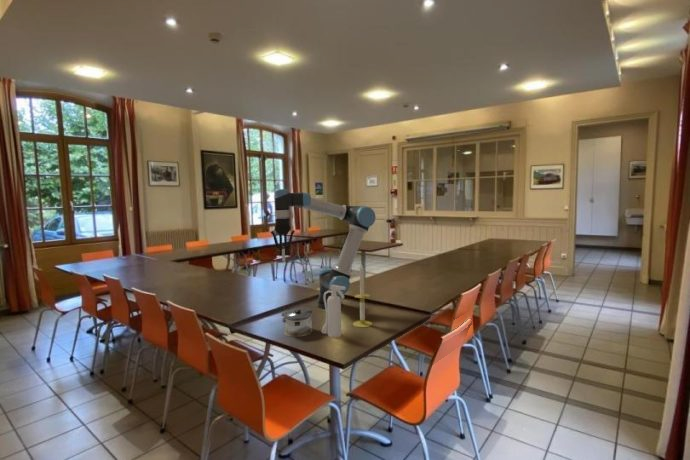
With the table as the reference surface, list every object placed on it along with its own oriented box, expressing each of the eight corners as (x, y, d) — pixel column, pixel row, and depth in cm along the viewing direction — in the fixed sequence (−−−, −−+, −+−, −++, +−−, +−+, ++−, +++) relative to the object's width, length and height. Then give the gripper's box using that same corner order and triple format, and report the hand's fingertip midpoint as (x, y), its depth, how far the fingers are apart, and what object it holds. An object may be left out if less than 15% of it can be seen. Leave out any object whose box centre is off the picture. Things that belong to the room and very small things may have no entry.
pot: (311, 323, 189) (311, 309, 188) (311, 337, 170) (311, 320, 170) (285, 325, 187) (284, 310, 187) (281, 338, 169) (281, 322, 169)
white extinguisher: (323, 331, 179) (323, 282, 176) (346, 334, 175) (347, 284, 172) (318, 336, 172) (318, 286, 169) (342, 340, 169) (342, 288, 166)
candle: (349, 323, 190) (348, 262, 187) (363, 319, 196) (363, 260, 193) (361, 329, 182) (360, 265, 179) (376, 324, 187) (375, 263, 185)
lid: (312, 309, 186) (312, 305, 186) (312, 318, 172) (312, 314, 172) (283, 311, 185) (283, 306, 184) (280, 320, 171) (280, 315, 170)
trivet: (312, 326, 186) (312, 325, 186) (312, 336, 173) (312, 335, 173) (285, 327, 185) (285, 326, 185) (283, 338, 171) (283, 337, 171)
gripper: (294, 217, 199) (296, 259, 201) (271, 217, 197) (272, 260, 200) (294, 218, 191) (295, 261, 193) (269, 218, 190) (270, 262, 192)
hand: (283, 261), depth 196 cm, fingers closed
